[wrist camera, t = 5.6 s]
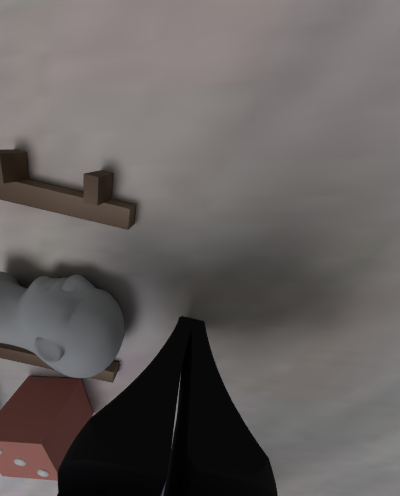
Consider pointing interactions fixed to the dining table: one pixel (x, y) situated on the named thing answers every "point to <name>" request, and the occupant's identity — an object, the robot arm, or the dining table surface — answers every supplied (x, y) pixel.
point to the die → (41, 426)
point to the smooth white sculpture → (62, 323)
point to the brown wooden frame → (68, 203)
